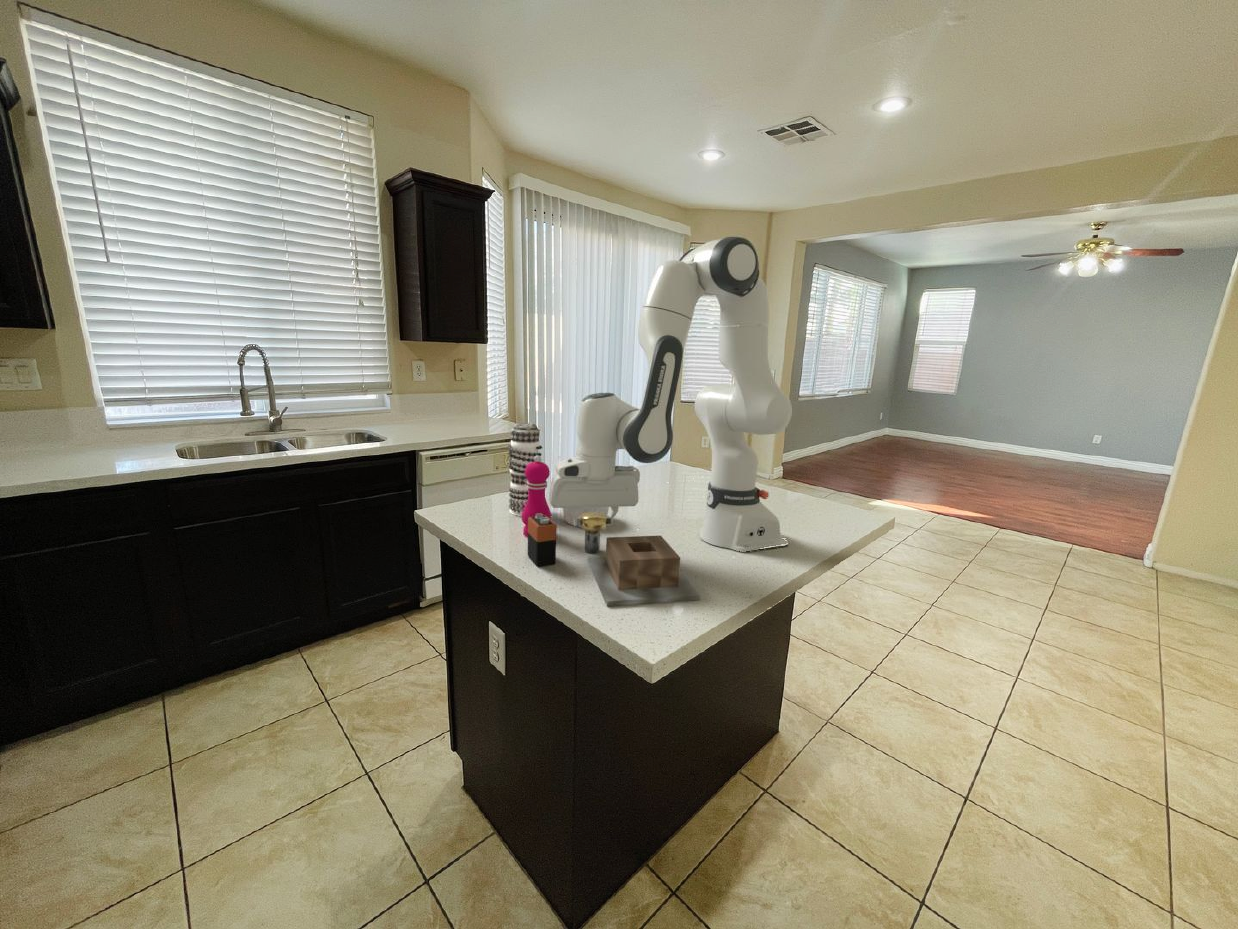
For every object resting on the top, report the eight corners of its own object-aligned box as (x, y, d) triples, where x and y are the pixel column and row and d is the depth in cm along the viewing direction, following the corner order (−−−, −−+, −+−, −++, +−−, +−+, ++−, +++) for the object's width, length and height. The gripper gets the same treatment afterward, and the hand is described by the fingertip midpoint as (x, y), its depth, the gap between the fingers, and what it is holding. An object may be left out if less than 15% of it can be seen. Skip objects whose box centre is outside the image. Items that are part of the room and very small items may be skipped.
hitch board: (665, 557, 111) (667, 528, 110) (699, 600, 92) (703, 565, 91) (588, 561, 107) (589, 531, 105) (606, 606, 88) (608, 570, 87)
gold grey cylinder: (602, 545, 117) (603, 512, 115) (607, 555, 111) (609, 520, 109) (577, 546, 115) (578, 512, 113) (581, 556, 110) (582, 521, 108)
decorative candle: (527, 504, 145) (528, 421, 139) (547, 512, 139) (549, 425, 133) (501, 511, 138) (501, 423, 132) (521, 519, 132) (522, 427, 127)
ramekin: (567, 511, 141) (568, 488, 139) (612, 515, 139) (614, 492, 138) (555, 526, 128) (556, 501, 126) (605, 531, 126) (606, 505, 125)
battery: (536, 567, 103) (537, 522, 100) (526, 555, 108) (527, 512, 106) (556, 564, 105) (557, 520, 102) (545, 552, 110) (546, 510, 108)
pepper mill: (544, 540, 118) (546, 459, 113) (516, 537, 119) (517, 456, 115) (554, 530, 124) (556, 454, 120) (527, 527, 126) (528, 451, 122)
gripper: (636, 462, 114) (633, 519, 117) (549, 462, 109) (547, 521, 112) (644, 469, 108) (640, 528, 111) (551, 469, 103) (550, 530, 106)
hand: (593, 524), depth 112 cm, fingers closed on gold grey cylinder, 6 cm apart
